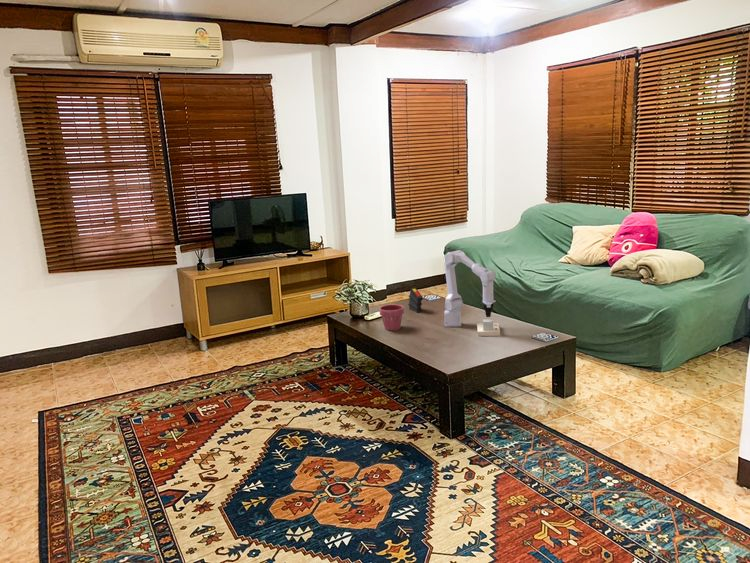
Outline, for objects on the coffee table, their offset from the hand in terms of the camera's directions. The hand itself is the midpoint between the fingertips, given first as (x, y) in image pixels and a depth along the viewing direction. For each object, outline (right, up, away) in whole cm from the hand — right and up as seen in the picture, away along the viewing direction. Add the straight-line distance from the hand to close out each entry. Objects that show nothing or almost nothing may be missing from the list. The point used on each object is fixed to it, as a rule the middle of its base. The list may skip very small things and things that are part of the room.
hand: (488, 316), depth 312 cm
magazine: (-36, 0, +54) cm, 65 cm away
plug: (0, -9, +2) cm, 9 cm away
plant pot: (-52, -8, +21) cm, 57 cm away
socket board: (+1, -9, +6) cm, 10 cm away
